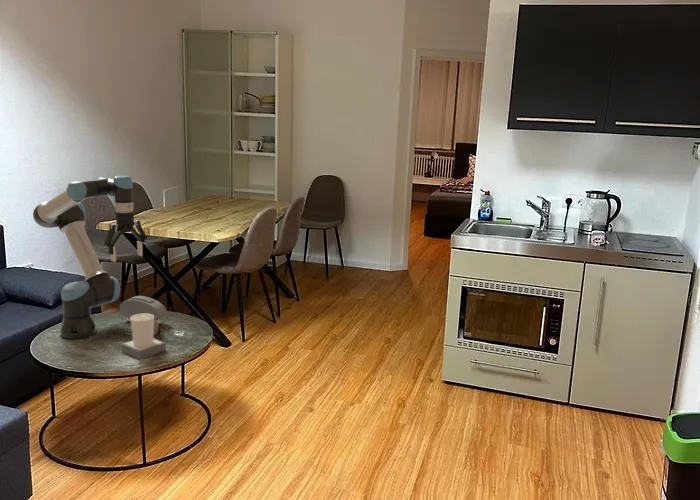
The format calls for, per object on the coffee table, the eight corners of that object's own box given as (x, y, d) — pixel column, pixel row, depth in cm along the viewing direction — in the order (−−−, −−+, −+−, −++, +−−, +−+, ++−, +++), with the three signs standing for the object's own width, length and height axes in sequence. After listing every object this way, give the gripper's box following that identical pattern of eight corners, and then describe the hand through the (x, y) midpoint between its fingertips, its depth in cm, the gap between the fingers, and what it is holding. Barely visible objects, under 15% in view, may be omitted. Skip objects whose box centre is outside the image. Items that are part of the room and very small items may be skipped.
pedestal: (121, 351, 268) (121, 343, 267) (147, 342, 278) (146, 335, 277) (140, 359, 260) (139, 351, 260) (165, 350, 271) (165, 342, 270)
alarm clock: (167, 323, 301) (166, 298, 298) (159, 327, 295) (158, 302, 292) (128, 316, 309) (127, 291, 306) (120, 320, 303) (118, 295, 300)
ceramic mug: (152, 338, 282) (151, 322, 281) (135, 336, 284) (134, 321, 282) (162, 330, 293) (162, 315, 291) (146, 329, 294) (145, 313, 292)
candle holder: (137, 337, 274) (136, 312, 271) (158, 339, 273) (157, 313, 270) (127, 346, 264) (125, 320, 261) (149, 348, 263) (148, 321, 260)
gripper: (103, 216, 259) (106, 265, 264) (153, 209, 279) (155, 254, 284) (93, 213, 263) (96, 262, 269) (143, 206, 283) (145, 251, 288)
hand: (127, 258), depth 276 cm, fingers open, 13 cm apart
